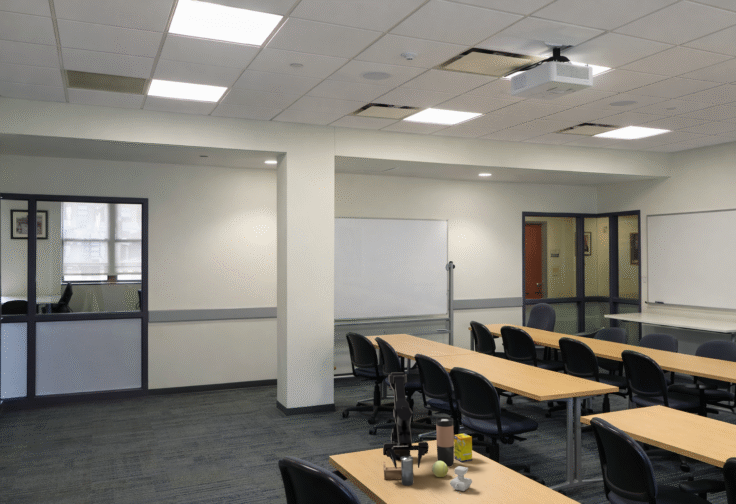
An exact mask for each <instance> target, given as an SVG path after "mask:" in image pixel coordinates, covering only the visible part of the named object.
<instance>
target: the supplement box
mask: <svg viewBox="0 0 736 504" xmlns="http://www.w3.org/2000/svg"><path fill="white" fill-rule="evenodd" d="M454 460H457V461H459V462H460V463H467V462H471V461H473V436H472V435H471V436H470V435H468V434H467V433H458V434H454Z"/></svg>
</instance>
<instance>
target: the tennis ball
mask: <svg viewBox="0 0 736 504" xmlns="http://www.w3.org/2000/svg"><path fill="white" fill-rule="evenodd" d="M431 471H432V473H433V474H434V476H435V477H437V478H445V477H446V476H447V474H448V472H449V467H447V465H446V463H444V462H443V461H438V460H437V461H435V462H433V465H432V468H431Z"/></svg>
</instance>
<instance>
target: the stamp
mask: <svg viewBox="0 0 736 504" xmlns="http://www.w3.org/2000/svg"><path fill="white" fill-rule="evenodd" d="M453 471H454V474H455V475H457V476H456V477H454V478H452V479H451V480H450V482H449V485H450V486H451V487H452V488H453V490H456V491H460V492H465V491H467V490H468V489H469V487H470V486H471V485H472V483H473V480H472V478H468V477H465V475H466V474H467V473H468V471H469V467H465V466H461V465H458V466H456V467H455V468H454V470H453Z"/></svg>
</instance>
